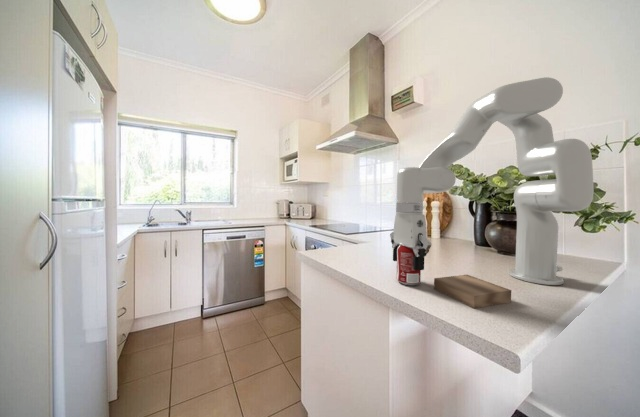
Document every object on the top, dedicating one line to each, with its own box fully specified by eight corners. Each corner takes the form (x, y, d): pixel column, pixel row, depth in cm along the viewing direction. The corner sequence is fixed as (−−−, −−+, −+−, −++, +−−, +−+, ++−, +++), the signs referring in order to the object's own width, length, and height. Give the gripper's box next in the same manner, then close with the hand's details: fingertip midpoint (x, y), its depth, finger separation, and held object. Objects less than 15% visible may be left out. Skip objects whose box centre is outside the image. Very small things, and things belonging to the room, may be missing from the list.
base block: (466, 284, 66) (466, 274, 66) (511, 302, 55) (511, 290, 55) (434, 288, 63) (434, 278, 63) (473, 308, 51) (474, 295, 51)
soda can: (422, 287, 63) (423, 246, 63) (398, 285, 65) (398, 245, 64) (417, 279, 70) (418, 242, 70) (395, 278, 71) (395, 241, 71)
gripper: (442, 210, 59) (439, 273, 60) (401, 208, 76) (400, 257, 77) (419, 210, 57) (416, 275, 58) (382, 207, 74) (381, 258, 74)
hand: (407, 265), depth 67 cm, fingers open, 9 cm apart
